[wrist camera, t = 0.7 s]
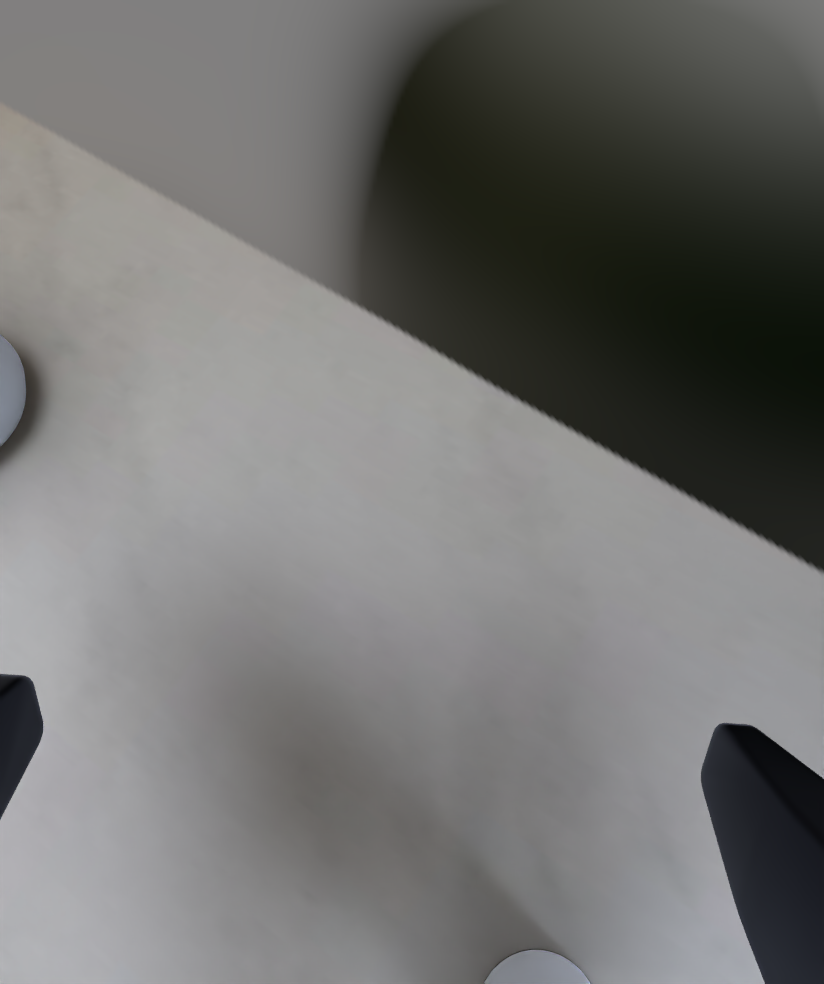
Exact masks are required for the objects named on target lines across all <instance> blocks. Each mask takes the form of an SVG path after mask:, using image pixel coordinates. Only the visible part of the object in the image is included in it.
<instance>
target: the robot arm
mask: <svg viewBox="0 0 824 984" xmlns="http://www.w3.org/2000/svg"><path fill="white" fill-rule="evenodd" d="M42 734H43V719H42V715H41V711H40V707H39V703H38V699H37V695H36V691H35V687H34V684H33V682H32V680H31V679H30V678H29V677H26V676H22V675H7V674H0V819H1V817H2V815H3V813H4V811H5V809H6V807H7V805H8V803H9V801H10V800H11V798H12V796H13V794H14V792H15V790H16V788H17V786H18V784H19V782H20V780H21V778H22V776H23V774H24V772H25V770H26V768H27V766H28V764H29V763H30V761H31V759H32V757H33V755H34V753H35V751H36V749H37V747H38V745H39V743H40V740H41V737H42ZM701 783H702V788H703V792H704V796H705V799H706V803H707V806H708V810H709V813H710V817H711V820H712V824H713V827H714V831H715V835H716V838H717V842H718V845H719V849H720V852H721V856H722V859H723V863H724V866H725V870H726V873H727V877H728V880H729V884H730V887H731V891H732V894H733V897H734V901H735V904H736V907H737V910H738V914H739V916H740V919H741V922H742V925H743V927H744V930H745V933H746V936H747V938H748V941H749V943H750V946H751V948H752V951H753V954H754V956H755V959H756V961H757V964H758V966H759V969H760V972H761V974H762V977H763V979H764V982H765V984H824V779H823V778H822V777H820V776H819V775H818V774H816V773H815V772H814V771H813V770H811V769H810V768H809V767H807V766H806V765H805V764H803V763H802V762H801V761H799V760H798V759H797V758H795V757H794V756H793V755H791V754H790V753H789V752H787V751H786V750H785V749H783V748H782V747H781V746H780V745H778V744H777V743H776V742H774V741H773V740H772V739H770V738H769V737H768V736H766V735H765V734H764V733H762V732H761V731H760V730H758V729H757V728H755V727H753V726H751V725H746V724H732V723H722V724H719V725H718V726H717V727H716V728H715V730H714V732H713V735H712V738H711V741H710V744H709V747H708V751H707V754H706V757H705V760H704V763H703V766H702V771H701Z"/></svg>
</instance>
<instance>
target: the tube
mask: <svg viewBox="0 0 824 984" xmlns="http://www.w3.org/2000/svg"><path fill="white" fill-rule="evenodd" d="M484 984H590V982H589V980H588V979H587V977H586V976H585V975H584V974H583V972H582V971H581V970H580V969H579V968H578V967H577V966H576V965H574V964H573V963H572V962H571V961H570V960H568V959H566V958H564V957H562V956H561V955H559V954H556V953H553V952H549V951H546V950H528V951H522V952H519V953H516V954H514V955H511V956H510V957H508V958H506V959H505V960H503V961H502V962H501V963H500V964H498V965H497V966H496V967H495V968H494V969H493V970H492V972H491V973H490V975H489V976H488V978H487V979H486V981H485V982H484Z"/></svg>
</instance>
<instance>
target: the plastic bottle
mask: <svg viewBox="0 0 824 984" xmlns="http://www.w3.org/2000/svg"><path fill="white" fill-rule="evenodd" d="M25 400H26V382H25V374H24V368H23V365H22V363H21V360H20V357H19V355H18V354H17V352H16V351H15V349H14V348H13V346H12V345H11V344H10V343H9V342H8V341H7V340H6V339H5V338H4V337H3V336H2V335H1V334H0V446H1V445H2V444H3V443H4V442H5V441H6V440H8V438H9V437H10V435H11V434H12V433H13V431H14V430H15V429H16V427H17V425H18V423H19V421H20V419H21V417H22V413H23V410H24V406H25Z"/></svg>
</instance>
